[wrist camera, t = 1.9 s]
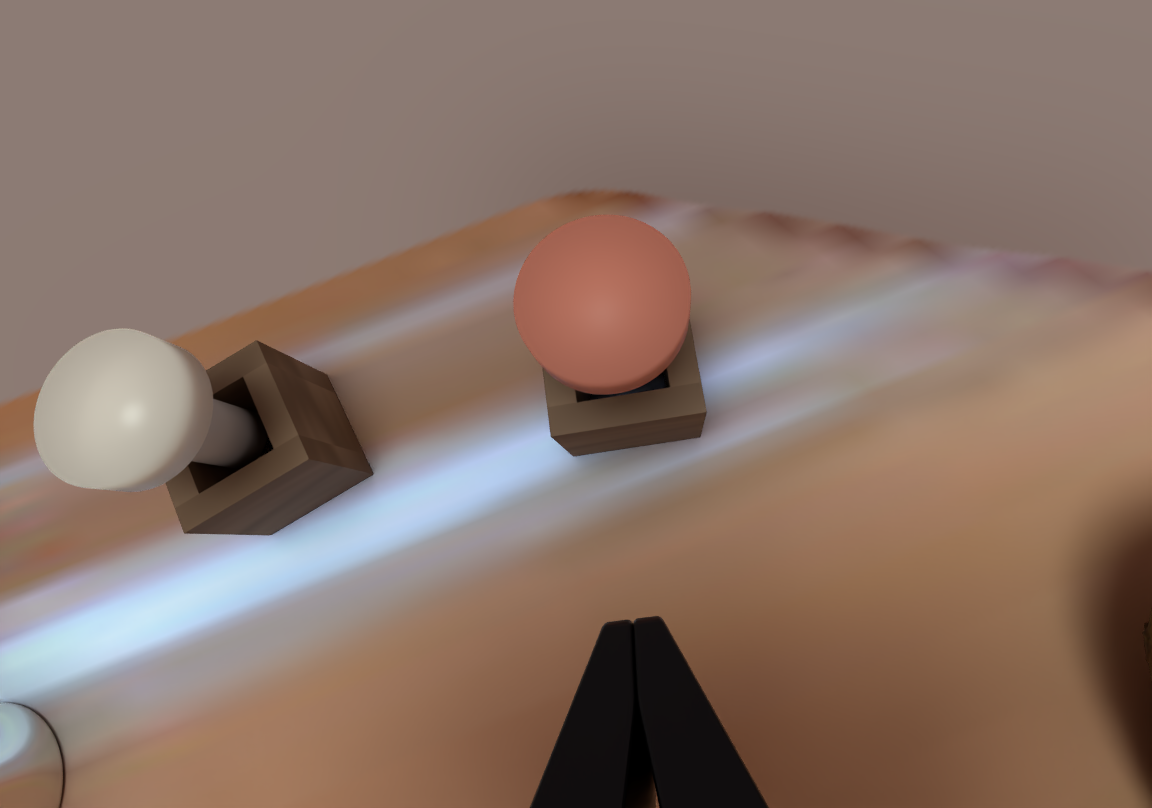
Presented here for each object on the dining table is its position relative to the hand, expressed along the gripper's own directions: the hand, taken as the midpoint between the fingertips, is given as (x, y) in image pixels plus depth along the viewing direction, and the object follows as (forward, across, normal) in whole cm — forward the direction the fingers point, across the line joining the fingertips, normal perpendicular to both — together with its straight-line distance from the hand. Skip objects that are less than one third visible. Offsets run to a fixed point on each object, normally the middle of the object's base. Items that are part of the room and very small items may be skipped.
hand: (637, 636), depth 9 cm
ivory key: (+11, +13, +2) cm, 17 cm away
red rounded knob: (+12, 0, +2) cm, 12 cm away
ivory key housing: (+14, +13, +5) cm, 19 cm away
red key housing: (+14, 0, +4) cm, 15 cm away
